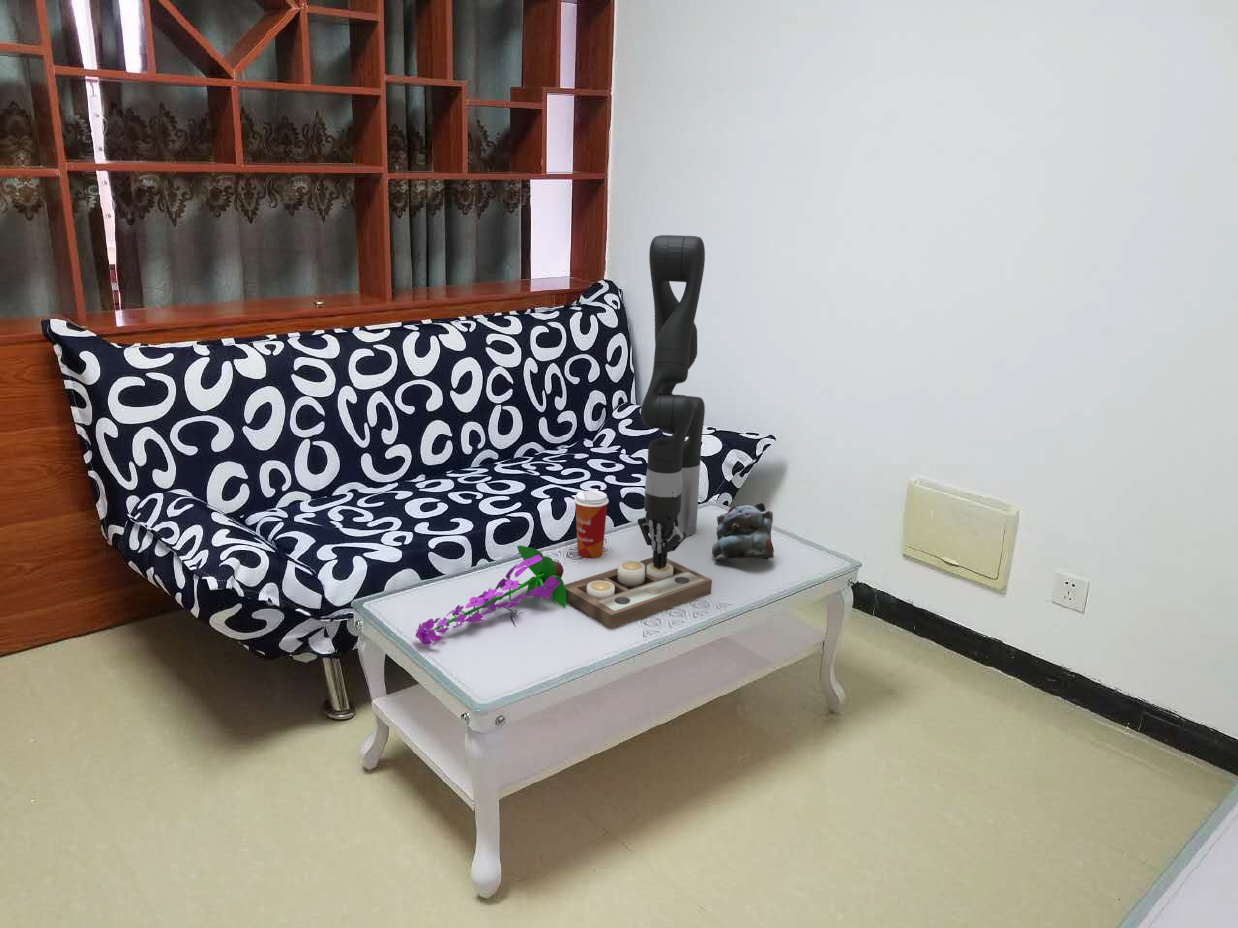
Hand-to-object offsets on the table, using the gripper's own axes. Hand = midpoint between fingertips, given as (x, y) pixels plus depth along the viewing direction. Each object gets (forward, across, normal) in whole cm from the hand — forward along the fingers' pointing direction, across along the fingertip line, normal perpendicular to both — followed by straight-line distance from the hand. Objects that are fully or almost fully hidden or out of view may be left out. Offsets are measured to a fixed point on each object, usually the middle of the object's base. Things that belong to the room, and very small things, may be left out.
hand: (659, 567), depth 203 cm
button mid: (+1, 0, -8) cm, 8 cm away
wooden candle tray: (+4, +2, -8) cm, 9 cm away
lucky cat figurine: (+4, 0, +24) cm, 25 cm away
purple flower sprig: (+4, -6, -36) cm, 37 cm away
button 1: (+3, 0, -16) cm, 16 cm away
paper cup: (+4, -21, -2) cm, 22 cm away
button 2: (+3, 0, 0) cm, 3 cm away
